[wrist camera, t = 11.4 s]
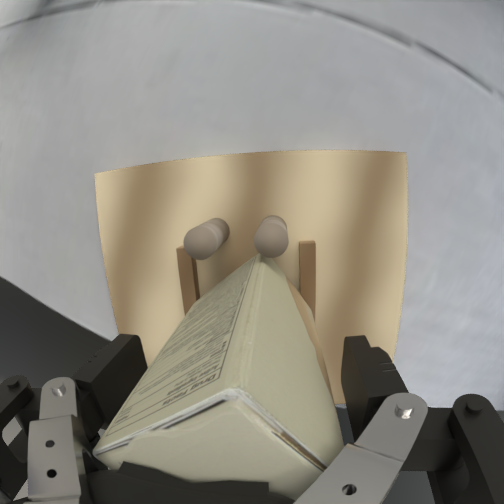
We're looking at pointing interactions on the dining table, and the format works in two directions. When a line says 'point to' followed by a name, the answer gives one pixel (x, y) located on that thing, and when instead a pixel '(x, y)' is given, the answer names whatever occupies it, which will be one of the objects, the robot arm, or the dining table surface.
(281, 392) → the box
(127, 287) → the tray
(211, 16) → the dining table surface
